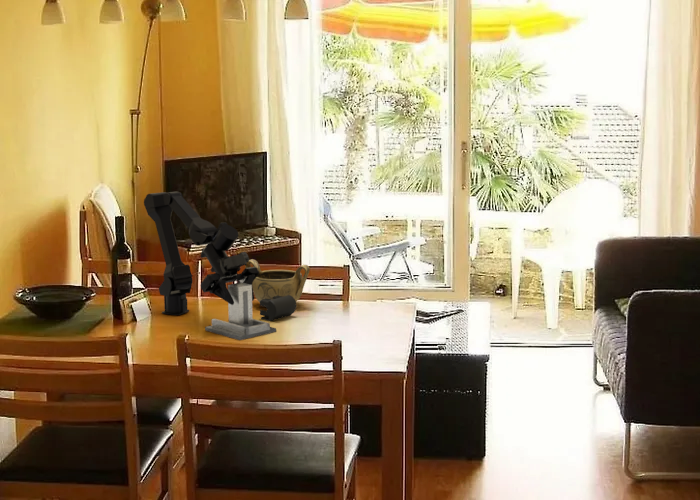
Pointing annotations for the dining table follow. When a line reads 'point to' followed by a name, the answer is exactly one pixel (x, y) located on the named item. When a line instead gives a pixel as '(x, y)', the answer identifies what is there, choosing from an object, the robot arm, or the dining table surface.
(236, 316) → the aluminium block
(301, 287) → the ceramic bowl
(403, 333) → the dining table surface
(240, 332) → the slotted cradle
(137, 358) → the dining table surface
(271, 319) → the end cap
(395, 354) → the dining table surface
